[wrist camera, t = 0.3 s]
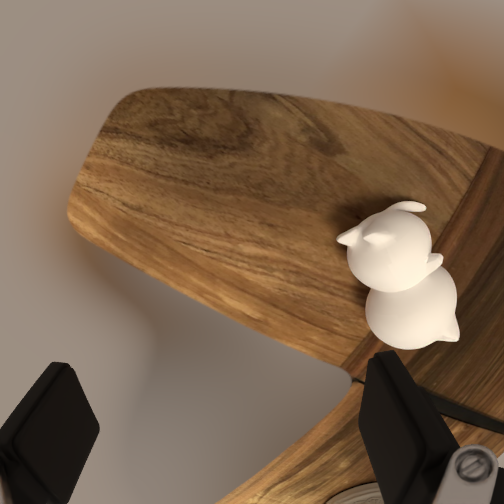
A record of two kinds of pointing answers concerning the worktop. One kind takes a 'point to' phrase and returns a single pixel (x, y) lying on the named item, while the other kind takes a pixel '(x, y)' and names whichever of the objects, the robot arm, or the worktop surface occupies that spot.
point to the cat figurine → (402, 278)
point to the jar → (359, 495)
